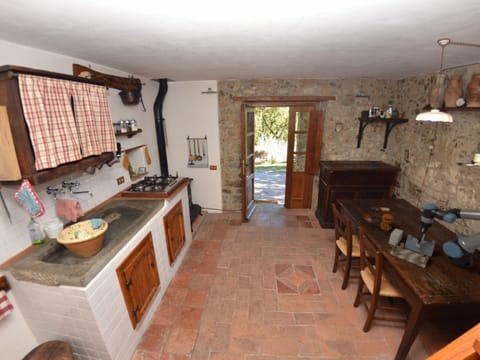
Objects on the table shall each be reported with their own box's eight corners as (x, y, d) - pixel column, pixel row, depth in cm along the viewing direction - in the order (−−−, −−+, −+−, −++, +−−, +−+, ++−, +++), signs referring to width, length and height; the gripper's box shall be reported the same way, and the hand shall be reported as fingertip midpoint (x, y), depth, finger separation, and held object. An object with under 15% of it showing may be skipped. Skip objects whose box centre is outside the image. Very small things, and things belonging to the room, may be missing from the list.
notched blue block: (431, 252, 183) (435, 239, 179) (431, 256, 178) (435, 243, 174) (405, 244, 195) (409, 231, 190) (404, 247, 190) (408, 234, 186)
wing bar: (400, 240, 201) (403, 230, 198) (396, 246, 192) (399, 236, 189) (393, 237, 205) (395, 228, 202) (388, 243, 196) (391, 233, 193)
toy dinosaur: (385, 232, 212) (389, 216, 207) (376, 227, 222) (379, 211, 217) (394, 231, 215) (398, 215, 210) (384, 226, 225) (388, 210, 220)
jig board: (428, 259, 175) (430, 252, 173) (424, 268, 165) (426, 261, 163) (395, 246, 191) (397, 240, 190) (389, 253, 181) (391, 247, 180)
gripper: (423, 215, 188) (417, 236, 195) (417, 224, 172) (410, 246, 179) (435, 218, 183) (427, 239, 190) (429, 228, 167) (421, 251, 174)
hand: (419, 243), depth 184 cm, fingers open, 13 cm apart
